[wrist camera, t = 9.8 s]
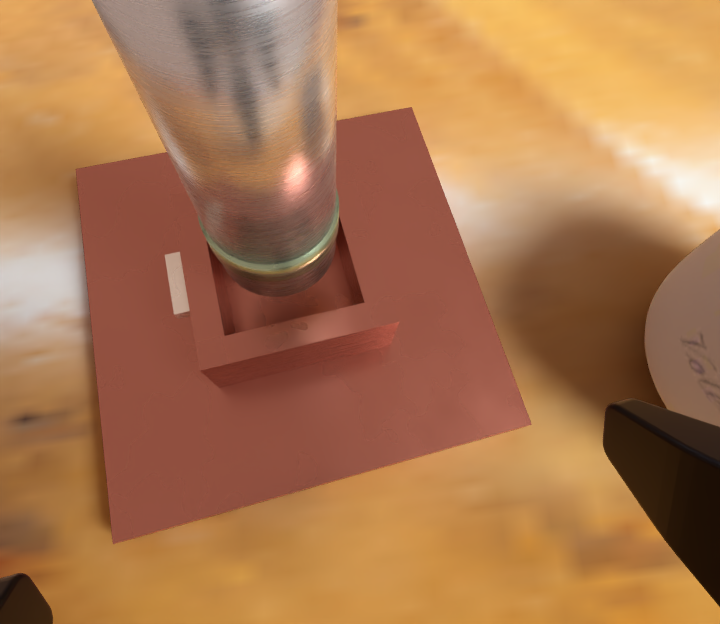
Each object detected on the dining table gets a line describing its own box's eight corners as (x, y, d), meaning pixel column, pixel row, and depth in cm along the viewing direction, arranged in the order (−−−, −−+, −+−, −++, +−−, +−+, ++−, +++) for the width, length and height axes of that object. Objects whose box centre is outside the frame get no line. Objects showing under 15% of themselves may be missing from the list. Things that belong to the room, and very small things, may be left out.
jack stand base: (520, 427, 21) (565, 413, 17) (126, 540, 18) (69, 554, 14) (407, 124, 26) (421, 57, 22) (88, 184, 23) (38, 122, 19)
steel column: (362, 290, 17) (442, -262, 4) (220, 323, 16) (-147, -216, 4) (328, 173, 18) (316, -480, 6) (197, 199, 18) (-121, -473, 5)
